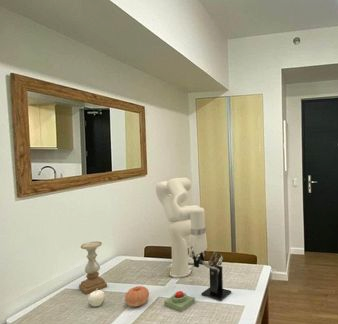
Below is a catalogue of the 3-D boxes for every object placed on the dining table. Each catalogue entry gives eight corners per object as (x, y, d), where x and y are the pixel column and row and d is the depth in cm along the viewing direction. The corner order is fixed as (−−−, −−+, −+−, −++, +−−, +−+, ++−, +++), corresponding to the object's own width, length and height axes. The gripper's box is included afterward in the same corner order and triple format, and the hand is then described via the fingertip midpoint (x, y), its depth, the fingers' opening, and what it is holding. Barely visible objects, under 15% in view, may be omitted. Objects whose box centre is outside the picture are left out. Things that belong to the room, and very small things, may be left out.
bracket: (201, 295, 139) (201, 268, 139) (212, 287, 147) (212, 262, 147) (220, 301, 133) (220, 273, 133) (231, 293, 141) (230, 266, 140)
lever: (193, 261, 145) (195, 256, 145) (197, 259, 148) (199, 254, 147) (215, 276, 138) (216, 270, 137) (219, 273, 141) (220, 268, 140)
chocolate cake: (217, 268, 172) (224, 251, 179) (207, 265, 173) (214, 247, 180) (218, 273, 179) (225, 256, 187) (208, 270, 180) (215, 253, 188)
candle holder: (78, 287, 150) (76, 244, 149) (100, 280, 158) (98, 239, 157) (85, 294, 143) (83, 249, 142) (107, 286, 151) (105, 243, 150)
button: (173, 297, 131) (173, 293, 131) (179, 293, 134) (179, 290, 134) (179, 299, 129) (179, 295, 129) (184, 295, 132) (184, 292, 132)
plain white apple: (93, 310, 128) (93, 293, 128) (85, 306, 132) (84, 289, 131) (108, 303, 134) (107, 287, 134) (99, 299, 138) (99, 283, 137)
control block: (164, 305, 131) (164, 297, 131) (178, 296, 138) (177, 289, 138) (181, 311, 125) (181, 303, 125) (194, 302, 133) (194, 294, 132)
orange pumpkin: (131, 298, 138) (130, 282, 138) (152, 298, 138) (152, 282, 137) (121, 310, 127) (120, 293, 127) (144, 310, 127) (143, 293, 127)
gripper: (202, 226, 154) (203, 259, 154) (181, 234, 140) (182, 270, 140) (213, 228, 150) (214, 261, 151) (192, 236, 136) (193, 273, 137)
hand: (199, 265), depth 146 cm, fingers closed on lever, 3 cm apart
